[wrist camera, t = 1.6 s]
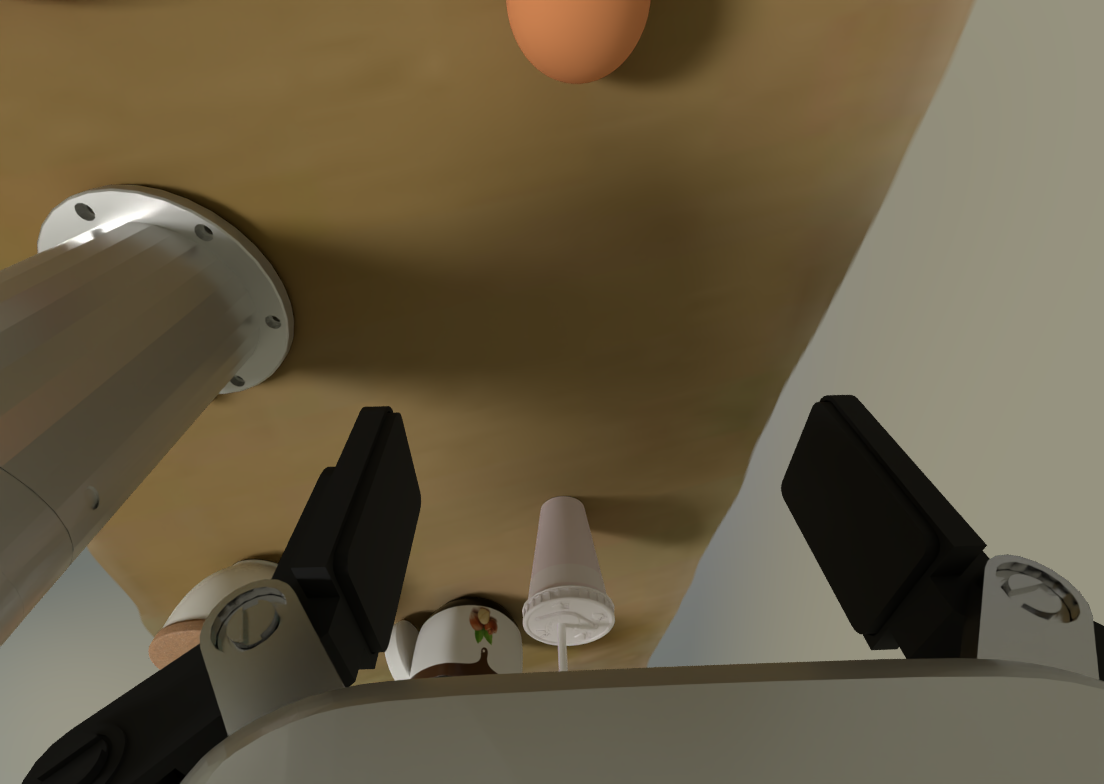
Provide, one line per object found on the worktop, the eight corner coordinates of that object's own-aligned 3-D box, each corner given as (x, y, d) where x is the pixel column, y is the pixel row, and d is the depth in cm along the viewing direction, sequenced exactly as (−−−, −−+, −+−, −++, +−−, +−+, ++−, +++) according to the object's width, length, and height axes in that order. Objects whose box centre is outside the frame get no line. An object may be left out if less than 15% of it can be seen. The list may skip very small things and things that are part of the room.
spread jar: (534, 616, 51) (534, 748, 42) (468, 656, 56) (454, 782, 46) (439, 573, 46) (415, 712, 37) (375, 620, 51) (339, 754, 41)
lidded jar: (191, 589, 46) (124, 698, 39) (215, 528, 41) (143, 640, 34) (305, 619, 50) (264, 723, 43) (340, 567, 45) (301, 675, 37)
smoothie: (539, 477, 38) (540, 663, 27) (613, 494, 40) (643, 678, 29) (514, 526, 42) (506, 708, 31) (583, 540, 43) (600, 720, 32)
